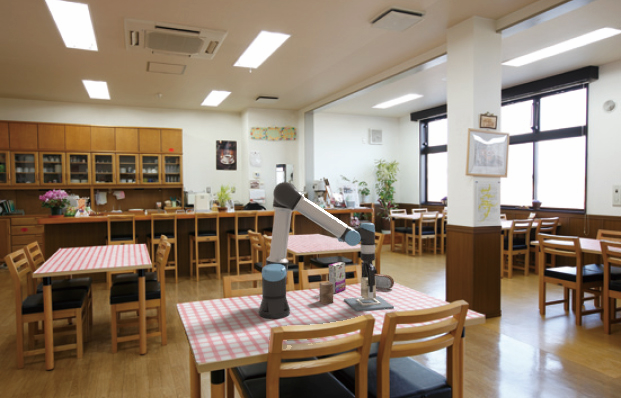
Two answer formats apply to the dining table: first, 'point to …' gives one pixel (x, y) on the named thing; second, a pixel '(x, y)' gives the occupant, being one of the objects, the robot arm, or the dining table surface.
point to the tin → (384, 281)
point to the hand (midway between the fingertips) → (368, 296)
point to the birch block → (366, 288)
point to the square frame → (368, 303)
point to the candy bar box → (337, 276)
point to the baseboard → (359, 307)
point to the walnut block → (326, 292)
